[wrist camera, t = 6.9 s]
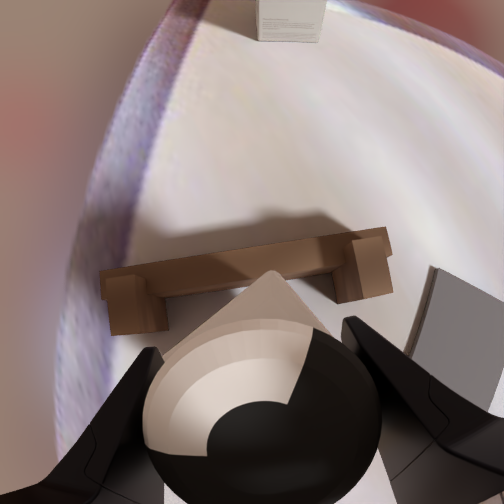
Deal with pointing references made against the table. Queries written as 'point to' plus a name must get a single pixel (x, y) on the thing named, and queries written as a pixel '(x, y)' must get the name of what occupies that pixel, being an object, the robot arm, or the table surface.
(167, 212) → the table surface
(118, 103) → the table surface
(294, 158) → the table surface
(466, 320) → the rubber mat
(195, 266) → the walnut rack
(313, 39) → the supplement box
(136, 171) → the table surface
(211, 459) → the medicine bottle
